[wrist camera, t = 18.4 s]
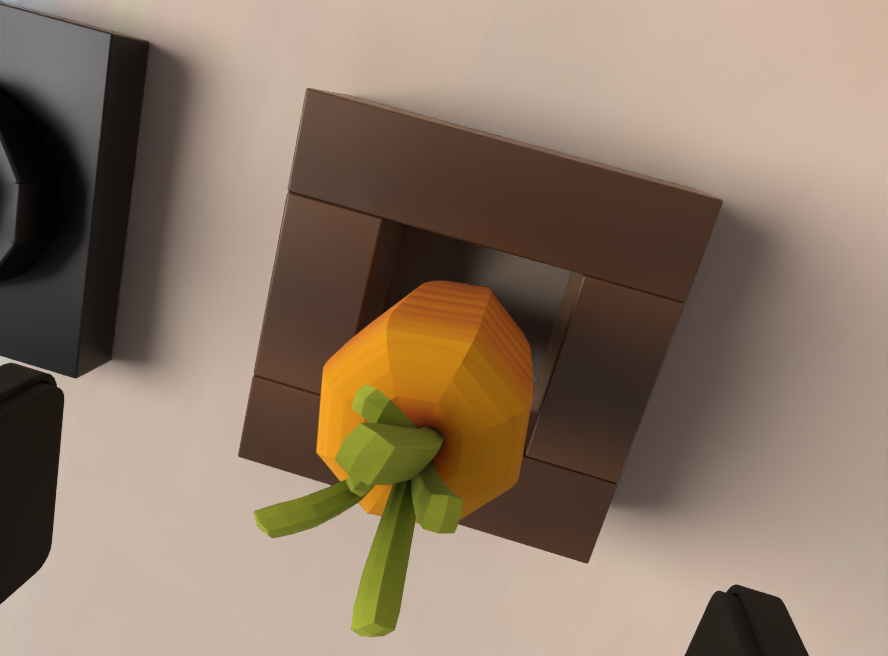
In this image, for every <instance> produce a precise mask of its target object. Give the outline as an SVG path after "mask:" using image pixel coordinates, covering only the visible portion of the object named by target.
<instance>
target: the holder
mask: <svg viewBox="0 0 888 656" xmlns="http://www.w3.org/2000/svg"><path fill="white" fill-rule="evenodd" d="M288 191H289V192H288V194H287V197H286V202H285V208H284V213H283V218H282V224H281V229H280V235H279V240H278V245H277V251H276V256H275V261H274V267H273V272H272V277H271V283H270V288H269V294H268V299H267V304H266V310H265V315H264V320H263V326H262V331H261V336H260V342H259V347H258V353H257V358H256V363H255V369H254V376H253V378H252V384H251V389H250V394H249V400H248V405H247V410H246V416H245V421H244V427H243V432H242V437H241V443H240V448H239V453H238V456H239V457H241V458H245V459H248V460H251V461H254V462H258V463H261V464H264V465H267V466H271V467H274V468H277V469H280V470H284V471H287V472H290V473H293V474H297V475H300V476H303V477H307V478H310V479H313V480H316V481H320V482H323V483H326V484H329V485H334V484H337V483H339V482H341V481H340V480H339V479H338V478H337V477H336V475H335V474H334V473H333V472H332V470H331V469H330V468H329V467H328V466H327V464H326V463H325V462H324V461H323V460H322V458H321V457H320V456H319V455H318V454H317V452H316V451H317V438H318V425H319V413H320V400H321V387H322V375H323V367H324V365H325V364H326V362H327V361H328V360H329V359H330V358H331V357H332V356H333V355H334V354H335V353H336V352H337V351H338V350H339V349H341V348H342V347H343V346H344V345H345V344H346V343H347V342H348V341H349V340H350V339H351V338H353V337H354V336H355V335H356V334H358V333H359V332H360V331H361V330H363V329H364V328H365V327H366V326H368V325H369V324H370V323H371V322H373V321H374V320H375V319H377V318H378V317H379V316H381V315H382V314H383V310H384V306H385V302H386V298H387V293H388V289H389V285H390V281H391V277H392V273H393V268H394V264H395V260H396V256H397V252H398V247H399V243H400V239H401V235H402V231H403V227H404V224H405V225H409V226H413V227H416V228H420V229H423V230H427V231H430V232H434V233H438V234H441V235H445V236H448V237H452V238H455V239H459V240H462V241H466V242H470V243H473V244H477V245H480V246H484V247H487V248H491V249H495V250H498V251H502V252H505V253H509V254H512V255H516V256H519V257H523V258H527V259H530V260H534V261H537V262H541V263H544V264H548V265H552V266H555V267H559V268H562V269H566V270H569V271H572V272H571V275H570V278H569V281H568V284H567V287H566V291H565V294H564V297H563V300H562V303H561V306H560V309H559V313H558V316H557V319H556V322H555V325H554V328H553V331H552V335H551V338H550V341H549V344H548V347H547V350H546V354H545V357H544V360H543V363H542V366H541V369H540V372H539V376H538V379H537V382H536V385H535V388H534V391H533V398H532V404H531V410H530V416H529V422H528V428H527V434H526V439H525V445H524V451H523V457H522V463H521V469H520V474H519V478H518V481H517V482H516V484H515V485H514V486H513V487H512V488H510V489H509V490H507V491H506V492H504V493H502V494H501V495H499V496H497V497H496V498H494V499H493V500H491V501H489V502H488V503H486V504H485V505H483V506H481V507H480V508H478V509H476V510H475V511H473V512H472V513H470V514H468V515H467V516H465V517H464V518H462V519H460V520H459V523H458V524H460V525H463V526H466V527H469V528H473V529H476V530H479V531H482V532H486V533H489V534H492V535H496V536H499V537H502V538H505V539H509V540H512V541H515V542H518V543H522V544H525V545H528V546H531V547H535V548H538V549H541V550H544V551H548V552H551V553H554V554H557V555H561V556H564V557H567V558H570V559H574V560H577V561H580V562H583V563H588V562H589V560H590V557H591V555H592V552H593V549H594V547H595V544H596V541H597V538H598V536H599V533H600V530H601V528H602V525H603V522H604V520H605V517H606V514H607V512H608V509H609V506H610V504H611V501H612V498H613V496H614V493H615V490H616V488H617V482H618V481H619V479H620V476H621V474H622V471H623V468H624V466H625V463H626V460H627V458H628V455H629V452H630V450H631V447H632V444H633V442H634V439H635V436H636V433H637V431H638V428H639V425H640V423H641V420H642V417H643V415H644V412H645V409H646V407H647V404H648V401H649V399H650V396H651V393H652V391H653V388H654V385H655V383H656V380H657V377H658V374H659V372H660V369H661V366H662V364H663V361H664V358H665V356H666V353H667V350H668V348H669V345H670V342H671V340H672V337H673V334H674V332H675V329H676V326H677V324H678V321H679V318H680V315H681V313H682V310H683V307H684V303H683V302H686V300H687V297H688V295H689V292H690V289H691V287H692V284H693V281H694V278H695V276H696V273H697V270H698V268H699V265H700V262H701V260H702V257H703V254H704V252H705V249H706V246H707V244H708V241H709V238H710V236H711V233H712V230H713V228H714V225H715V222H716V220H717V217H718V214H719V211H720V209H721V206H722V203H723V201H722V200H721V199H718V198H716V197H713V196H711V195H709V194H706V193H704V192H701V191H699V190H696V189H694V188H690V187H686V186H683V185H679V184H675V183H671V182H668V181H664V180H660V179H657V178H653V177H649V176H646V175H642V174H638V173H634V172H631V171H627V170H623V169H620V168H616V167H612V166H609V165H605V164H601V163H597V162H594V161H590V160H586V159H583V158H579V157H575V156H572V155H568V154H564V153H560V152H557V151H553V150H549V149H546V148H542V147H538V146H534V145H531V144H527V143H523V142H520V141H516V140H512V139H509V138H505V137H501V136H497V135H494V134H490V133H486V132H483V131H479V130H475V129H472V128H468V127H464V126H460V125H457V124H453V123H449V122H446V121H442V120H438V119H435V118H431V117H427V116H423V115H420V114H416V113H412V112H409V111H405V110H401V109H398V108H394V107H390V106H386V105H383V104H379V103H375V102H372V101H368V100H364V99H361V98H357V97H353V96H349V95H346V94H340V93H334V92H328V91H323V90H317V89H311V88H307V89H306V94H305V99H304V104H303V110H302V115H301V120H300V126H299V131H298V137H297V142H296V147H295V153H294V158H293V163H292V169H291V174H290V179H289V185H288Z"/></svg>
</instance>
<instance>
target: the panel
mask: <svg viewBox="0 0 888 656" xmlns="http://www.w3.org/2000/svg"><path fill="white" fill-rule="evenodd" d="M148 48H149V42H148V41H146V40H142V39H138V38H135V37H131V36H127V35H124V34H120V33H116V32H113V31H109V30H105V29H101V28H98V27H94V26H90V25H87V24H83V23H79V22H76V21H72V20H68V19H64V18H61V17H57V16H53V15H50V14H46V13H42V12H39V11H35V10H31V9H27V8H24V7H20V6H16V5H13V4H9V3H5V2H2V1H0V356H3V357H6V358H10V359H13V360H16V361H20V362H23V363H26V364H29V365H33V366H36V367H39V368H43V369H46V370H49V371H52V372H56V373H59V374H62V375H66V376H69V377H72V378H78V377H80V376H82V375H84V374H86V373H88V372H90V371H91V370H93V369H95V368H97V367H99V366H101V365H103V364H105V363H107V362H109V361H110V360H111V356H112V348H113V339H114V331H115V323H116V315H117V306H118V298H119V290H120V281H121V273H122V265H123V256H124V248H125V240H126V231H127V223H128V215H129V206H130V198H131V190H132V181H133V173H134V165H135V156H136V148H137V140H138V131H139V123H140V115H141V107H142V98H143V90H144V82H145V73H146V65H147V57H148Z"/></svg>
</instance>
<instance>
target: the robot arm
mask: <svg viewBox="0 0 888 656" xmlns="http://www.w3.org/2000/svg"><path fill="white" fill-rule="evenodd" d="M63 409H64V394H63V391H62V390H61V389H60V388H58V387H57V384H56V381H55V378H54V377H53V376H52V375H50V374H47V373H44V372H41V371H38V370H34V369H31V368H28V367H25V366H21V365H18V364H14V363H7V364H4V365H1V366H0V604H1V603H2V602H4V601H5V600H6V599H7V598H8V597H9V596H10V595H12V594H13V593H14V592H15V591H16V590H17V589H18V588H19V587H21V586H22V585H23V584H24V583H25V582H26V581H27V580H29V579H30V578H31V577H32V576H33V575H34V574H35V573H36V572H37V571H38V570H39V569H40V568H41V567H42V565H43V564H44V563H45V561H46V559H47V557H48V555H49V552H50V550H51V544H52V534H53V523H54V511H55V500H56V489H57V477H58V466H59V454H60V443H61V431H62V420H63ZM685 656H809V655H808V653H807V651H806V649H805V647H804V644H803V642H802V640H801V638H800V636H799V634H798V632H797V630H796V628H795V625H794V623H793V621H792V619H791V617H790V615H789V613H788V611H787V609H786V606H785V604H784V603H783V601H782V600H781V599H780V598H778V597H776V596H773V595H769V594H766V593H763V592H759V591H756V590H753V589H750V588H746V587H743V586H740V585H737V584H736V585H733V586H731V587H730V588H729V589H728V591H727V592H726V593H725V592H722V591H716V592H715V593H714V594H713V595H712V597H711V599H710V601H709V603H708V605H707V608H706V610H705V612H704V614H703V616H702V619H701V621H700V623H699V625H698V627H697V630H696V632H695V634H694V636H693V638H692V641H691V643H690V645H689V647H688V649H687V652H686V654H685Z"/></svg>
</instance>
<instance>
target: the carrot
mask: <svg viewBox="0 0 888 656" xmlns="http://www.w3.org/2000/svg"><path fill="white" fill-rule="evenodd" d="M532 398H533V367H532V358H531V349H530V345H529V343H528V341H527V339H526V337H525V335H524V334H523V332H522V331H521V329H520V328H519V327H518V325H517V324H516V323H515V321H514V320H513V319H512V317H511V316H510V315H509V313H508V312H507V311H506V309H505V308H504V307H503V305H502V304H501V303H500V301H499V300H498V299H497V298H496V296H495V295H494V294H493V292H492V291H491V290H490V288H489V287H485V286H479V285H472V284H465V283H459V282H452V281H446V280H439V281H431V282H427V283H423V284H422V285H421V286H419V287H418V288H417V289H415V290H414V291H413V292H411V293H410V294H409V295H407V296H406V297H405V298H403V299H402V300H401V301H399V302H398V303H397V304H395V305H394V306H393V307H391V308H390V309H389V310H387V311H386V312H385V313H383V314H382V315H381V316H379V317H378V318H377V319H375V320H374V321H373V322H371V323H370V324H369V325H368V326H366V327H365V328H364V329H363V330H361V331H360V332H359V333H358V334H356V335H355V336H354V337H353V338H351V339H350V340H349V341H348V342H347V343H346V344H345V345H344V346H343V347H342V348H341V349H339V350H338V351H337V352H336V353H335V354H334V355H333V356H332V357H331V358H330V359H329V360H328V361H327V362H326V364H325V365H324V367H323V375H322V387H321V400H320V413H319V425H318V438H317V451H316V452H317V454H318V455H319V456H320V457H321V458H322V460H323V461H324V462H325V463H326V464H327V466H328V467H329V468H330V469H331V470H332V472H333V473H334V474H335V475H336V477H337V478H338V479H339V480H340V481H341V482H339V483H337V484H334V485H332V486H330V487H328V488H325V489H323V490H320V491H318V492H315V493H312V494H310V495H307V496H305V497H302V498H298V499H294V500H291V501H287V502H283V503H279V504H275V505H272V506H269V507H266V508H262V509H259V510H256V511H254V516H255V520H256V523H257V526H258V527H259V528H260V529H261V530H262V531H263V532H265V533H266V534H267V535H268V536H269V537H271V538H276V537H281V536H286V535H291V534H294V533H298V532H301V531H304V530H307V529H310V528H313V527H316V526H318V525H320V524H322V523H324V522H326V521H328V520H329V519H331V518H333V517H335V516H337V515H339V514H341V513H342V512H344V511H345V510H347V509H349V508H350V507H352V506H353V505H355V504H357V503H359V504H360V505H361V507H362V508H363V509H364V510H365V511H366V513H368V514H373V515H378V516H382V517H381V520H380V523H379V526H378V529H377V532H376V535H375V537H374V540H373V543H372V546H371V549H370V552H369V555H368V558H367V561H366V564H365V567H364V570H363V573H362V577H361V581H360V585H359V589H358V593H357V597H356V601H355V605H354V611H353V619H352V627H351V630H353V631H354V632H356V633H357V634H359V635H360V636H368V637H377V636H385V635H387V634H388V633H390V632H392V631H394V630H395V627H396V623H397V619H398V616H399V612H400V607H401V601H402V595H403V589H404V583H405V577H406V571H407V566H408V560H409V554H410V548H411V543H412V537H413V531H414V526H415V523H419V524H420V526H421V527H422V528H423V529H426V530H429V531H433V532H436V533H455V530H456V528H457V525H458V523H459V520H460V519H462V518H464V517H465V516H467V515H468V514H470V513H472V512H473V511H475V510H476V509H478V508H480V507H481V506H483V505H485V504H486V503H488V502H489V501H491V500H493V499H494V498H496V497H497V496H499V495H501V494H502V493H504V492H506V491H507V490H509V489H510V488H512V487H513V486H514V485H515V484H516V482H517V481H518V478H519V474H520V469H521V463H522V457H523V451H524V445H525V439H526V434H527V428H528V422H529V416H530V410H531V404H532Z"/></svg>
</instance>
